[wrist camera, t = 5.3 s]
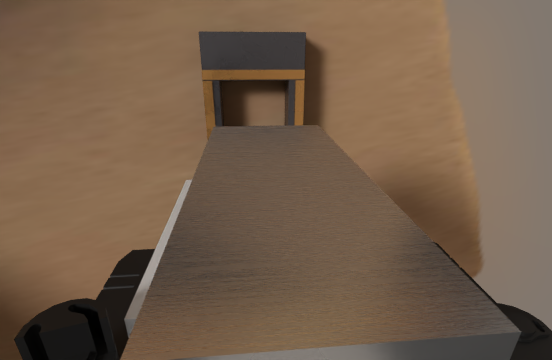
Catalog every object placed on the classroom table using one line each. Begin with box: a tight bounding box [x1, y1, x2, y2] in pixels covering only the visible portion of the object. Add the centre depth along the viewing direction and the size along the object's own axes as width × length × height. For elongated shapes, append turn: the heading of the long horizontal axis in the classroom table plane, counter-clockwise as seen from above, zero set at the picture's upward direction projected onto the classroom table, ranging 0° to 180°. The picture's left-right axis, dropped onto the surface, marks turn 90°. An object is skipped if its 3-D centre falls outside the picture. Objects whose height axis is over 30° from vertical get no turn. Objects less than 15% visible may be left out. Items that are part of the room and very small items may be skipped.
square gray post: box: [120, 125, 521, 360], centre depth 10 cm, size 5×5×12 cm
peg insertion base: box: [199, 32, 306, 139], centre depth 33 cm, size 9×28×3 cm, turn 0°
